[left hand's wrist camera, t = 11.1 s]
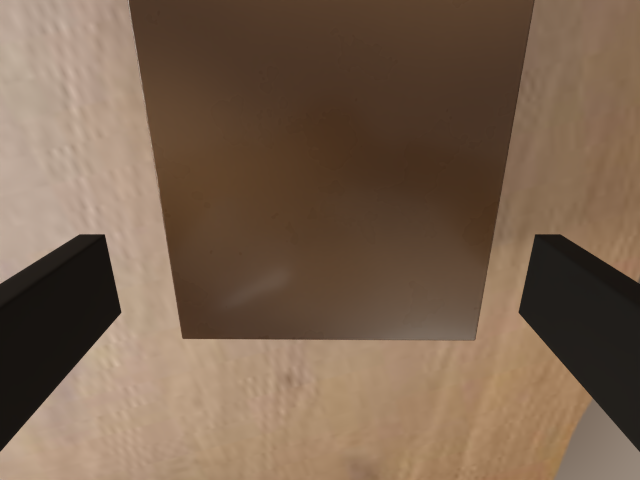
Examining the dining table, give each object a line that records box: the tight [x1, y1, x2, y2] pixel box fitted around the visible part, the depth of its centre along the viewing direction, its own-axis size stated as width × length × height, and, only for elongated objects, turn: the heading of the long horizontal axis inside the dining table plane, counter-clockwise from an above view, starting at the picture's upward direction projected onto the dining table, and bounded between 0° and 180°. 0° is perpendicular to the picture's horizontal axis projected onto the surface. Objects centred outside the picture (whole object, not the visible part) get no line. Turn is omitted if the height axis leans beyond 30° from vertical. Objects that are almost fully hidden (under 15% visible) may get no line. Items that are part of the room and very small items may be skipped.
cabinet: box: [128, 0, 534, 340], centre depth 15 cm, size 20×11×8 cm, turn 0°
